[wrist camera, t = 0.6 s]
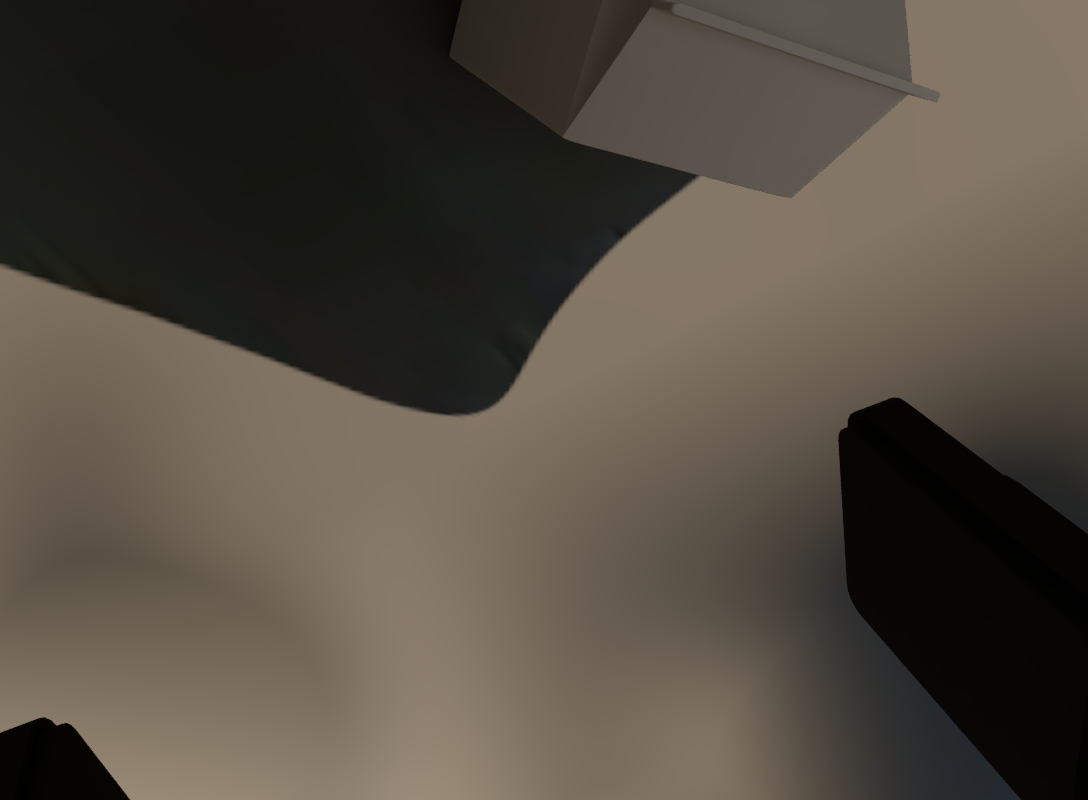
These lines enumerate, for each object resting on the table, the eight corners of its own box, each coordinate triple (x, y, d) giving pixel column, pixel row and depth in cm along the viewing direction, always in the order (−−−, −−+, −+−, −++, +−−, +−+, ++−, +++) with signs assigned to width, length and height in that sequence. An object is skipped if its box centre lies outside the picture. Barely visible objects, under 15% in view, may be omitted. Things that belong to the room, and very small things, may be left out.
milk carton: (608, 103, 38) (874, 244, 22) (446, 57, 36) (617, 179, 20) (664, -80, 36) (1014, -68, 20) (494, -145, 33) (737, -194, 17)
